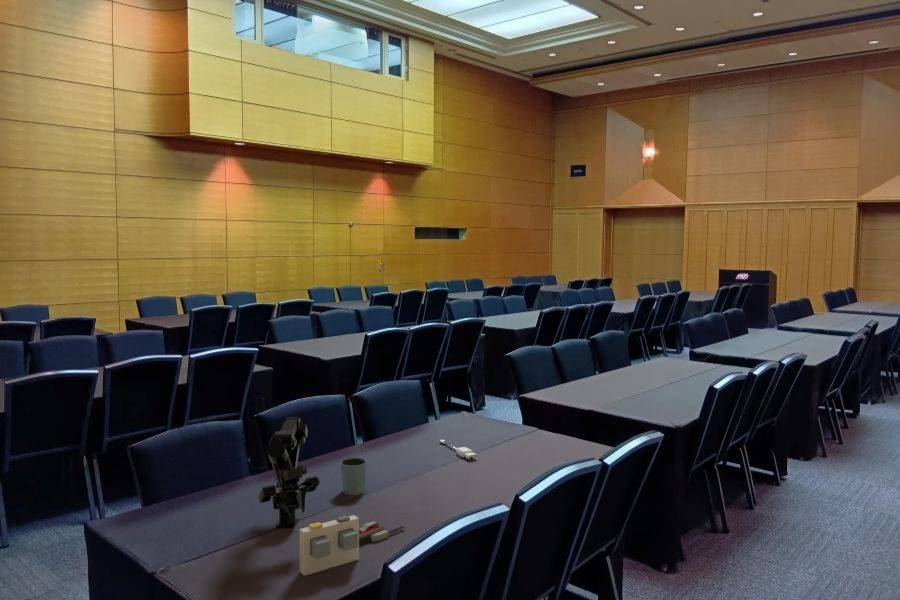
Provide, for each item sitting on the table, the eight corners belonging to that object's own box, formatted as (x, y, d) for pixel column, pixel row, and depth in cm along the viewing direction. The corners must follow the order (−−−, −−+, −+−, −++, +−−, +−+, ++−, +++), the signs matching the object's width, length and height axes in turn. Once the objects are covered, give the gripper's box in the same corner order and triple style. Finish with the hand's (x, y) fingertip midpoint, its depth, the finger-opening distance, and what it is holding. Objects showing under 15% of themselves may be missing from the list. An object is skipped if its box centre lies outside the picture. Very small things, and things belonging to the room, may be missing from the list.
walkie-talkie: (359, 550, 213) (406, 531, 228) (359, 536, 213) (406, 518, 227) (342, 541, 219) (389, 523, 234) (342, 528, 219) (389, 511, 233)
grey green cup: (361, 497, 257) (361, 466, 256) (336, 494, 259) (336, 464, 258) (370, 487, 267) (369, 458, 266) (345, 485, 269) (345, 456, 268)
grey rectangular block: (303, 547, 201) (303, 533, 201) (317, 543, 204) (317, 529, 203) (316, 559, 194) (316, 544, 193) (330, 555, 196) (330, 540, 196)
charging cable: (444, 443, 332) (444, 436, 331) (477, 459, 303) (477, 452, 303) (435, 444, 329) (435, 438, 329) (467, 461, 301) (467, 453, 301)
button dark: (331, 540, 206) (330, 526, 206) (343, 536, 209) (343, 522, 209) (344, 551, 199) (344, 536, 199) (357, 547, 202) (357, 533, 201)
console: (299, 571, 198) (299, 526, 197) (354, 555, 209) (354, 512, 208) (304, 575, 196) (303, 530, 195) (358, 559, 206) (358, 515, 205)
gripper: (261, 462, 207) (275, 508, 199) (317, 451, 218) (332, 495, 210) (252, 479, 214) (265, 525, 206) (307, 468, 225) (321, 511, 217)
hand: (297, 513), depth 210 cm, fingers open, 4 cm apart
